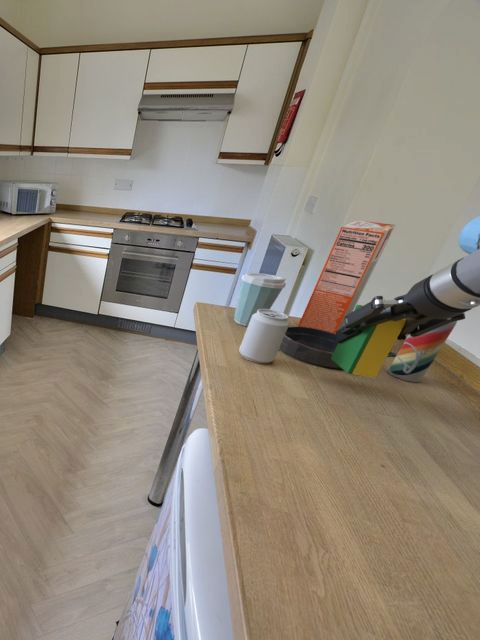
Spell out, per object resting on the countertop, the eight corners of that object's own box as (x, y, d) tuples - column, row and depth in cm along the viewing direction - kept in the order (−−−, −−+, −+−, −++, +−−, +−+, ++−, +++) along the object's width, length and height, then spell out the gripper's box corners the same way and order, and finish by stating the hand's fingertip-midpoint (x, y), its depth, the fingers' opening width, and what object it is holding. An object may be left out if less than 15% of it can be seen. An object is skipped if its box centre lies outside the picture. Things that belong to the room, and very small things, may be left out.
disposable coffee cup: (218, 318, 124) (235, 270, 118) (241, 314, 128) (258, 268, 122) (252, 332, 115) (272, 281, 109) (276, 328, 120) (296, 278, 113)
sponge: (356, 362, 91) (384, 307, 85) (375, 377, 85) (407, 319, 79) (330, 358, 92) (356, 304, 86) (347, 373, 86) (377, 316, 80)
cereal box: (313, 317, 129) (357, 220, 116) (345, 326, 124) (395, 225, 111) (293, 335, 115) (341, 226, 102) (329, 345, 110) (384, 232, 97)
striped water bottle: (387, 375, 96) (433, 295, 87) (387, 367, 100) (431, 289, 91) (421, 385, 92) (473, 302, 84) (419, 376, 96) (469, 296, 87)
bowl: (377, 372, 97) (385, 357, 95) (306, 368, 97) (313, 353, 95) (321, 340, 113) (328, 327, 111) (260, 337, 112) (265, 324, 111)
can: (230, 353, 103) (247, 308, 97) (250, 349, 106) (267, 305, 100) (259, 367, 97) (279, 320, 91) (280, 362, 99) (299, 316, 94)
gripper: (391, 302, 69) (306, 348, 90) (526, 318, 65) (404, 362, 86) (387, 264, 71) (305, 317, 93) (517, 277, 67) (400, 330, 89)
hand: (353, 339), depth 89 cm, fingers closed on sponge, 5 cm apart
